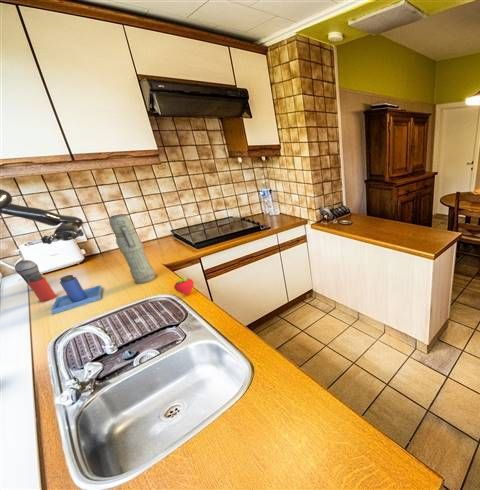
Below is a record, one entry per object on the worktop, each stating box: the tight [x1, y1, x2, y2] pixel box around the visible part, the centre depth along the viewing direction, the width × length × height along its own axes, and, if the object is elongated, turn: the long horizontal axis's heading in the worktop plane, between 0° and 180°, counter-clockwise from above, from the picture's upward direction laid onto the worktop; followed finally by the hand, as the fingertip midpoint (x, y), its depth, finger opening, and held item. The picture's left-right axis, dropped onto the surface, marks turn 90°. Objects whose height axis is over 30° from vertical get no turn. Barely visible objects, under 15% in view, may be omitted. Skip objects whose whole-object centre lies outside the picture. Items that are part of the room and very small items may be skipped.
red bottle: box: [27, 274, 57, 303], centre depth 124 cm, size 5×5×12 cm
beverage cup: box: [14, 251, 42, 287], centre depth 133 cm, size 7×7×20 cm
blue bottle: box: [59, 274, 87, 303], centre depth 121 cm, size 5×5×12 cm
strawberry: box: [173, 276, 194, 296], centre depth 121 cm, size 6×8×10 cm
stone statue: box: [108, 213, 157, 285], centre depth 132 cm, size 9×12×35 cm
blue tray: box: [51, 285, 103, 315], centre depth 123 cm, size 15×13×2 cm
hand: (61, 239), depth 130 cm, fingers open, 8 cm apart
